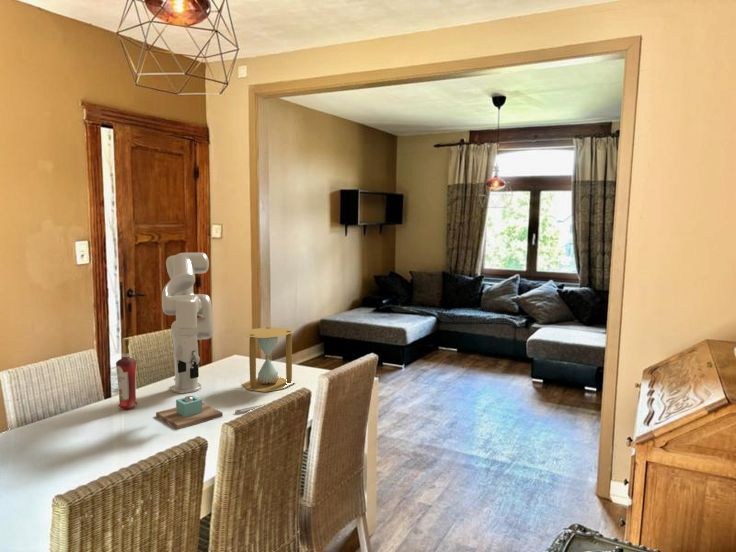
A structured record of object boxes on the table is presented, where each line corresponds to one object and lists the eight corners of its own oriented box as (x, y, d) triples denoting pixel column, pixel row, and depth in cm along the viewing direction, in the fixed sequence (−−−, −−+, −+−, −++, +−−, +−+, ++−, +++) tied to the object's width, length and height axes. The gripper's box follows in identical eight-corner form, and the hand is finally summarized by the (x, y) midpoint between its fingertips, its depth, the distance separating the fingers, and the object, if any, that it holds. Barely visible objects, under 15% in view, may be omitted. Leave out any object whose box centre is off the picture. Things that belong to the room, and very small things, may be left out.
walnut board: (156, 416, 203) (156, 412, 203) (199, 404, 216) (199, 401, 216) (177, 429, 190) (177, 425, 190) (222, 416, 203) (222, 412, 203)
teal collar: (176, 412, 203) (176, 399, 202) (193, 407, 208) (193, 395, 207) (184, 417, 198) (184, 404, 198) (202, 412, 203) (201, 399, 203)
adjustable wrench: (236, 416, 205) (236, 412, 205) (231, 411, 210) (231, 407, 210) (296, 405, 217) (296, 401, 217) (290, 400, 223) (290, 396, 222)
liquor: (113, 409, 210) (110, 340, 208) (129, 403, 217) (126, 336, 214) (126, 412, 207) (123, 342, 204) (141, 406, 213) (139, 338, 211)
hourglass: (272, 374, 260) (271, 324, 257) (304, 383, 245) (303, 330, 243) (232, 385, 241) (231, 331, 239) (264, 395, 227) (263, 338, 225)
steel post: (183, 412, 203) (183, 397, 202) (191, 410, 205) (190, 395, 204) (187, 414, 201) (187, 399, 200) (194, 412, 203) (194, 397, 202)
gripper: (167, 328, 203) (168, 372, 205) (188, 336, 191) (189, 382, 193) (185, 326, 208) (186, 368, 210) (207, 333, 196) (208, 378, 198)
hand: (188, 374), depth 202 cm, fingers open, 9 cm apart
